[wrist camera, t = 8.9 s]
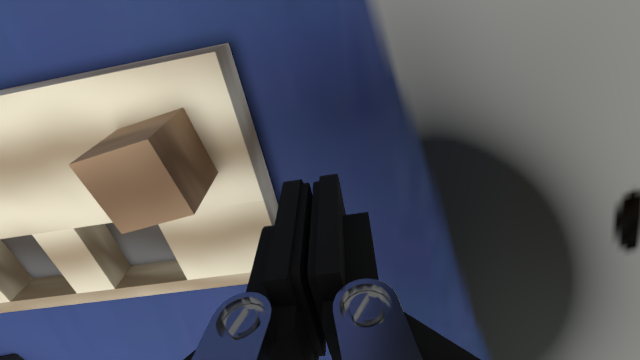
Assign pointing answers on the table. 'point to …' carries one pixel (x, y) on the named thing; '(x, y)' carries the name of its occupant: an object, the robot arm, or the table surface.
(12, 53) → the table surface
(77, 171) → the walnut block
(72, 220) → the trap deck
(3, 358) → the disk drive
